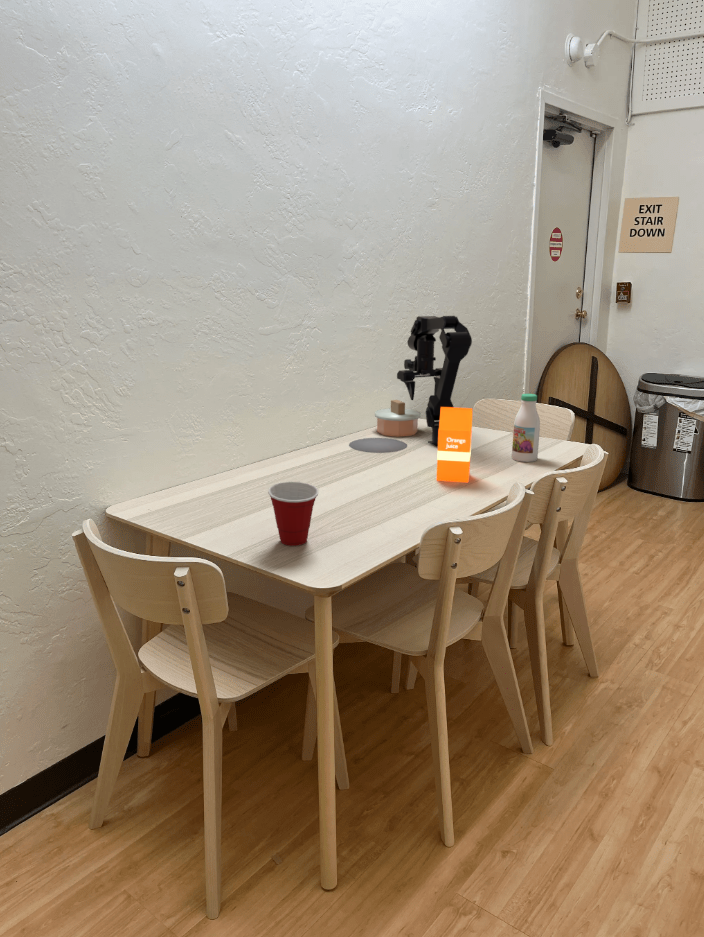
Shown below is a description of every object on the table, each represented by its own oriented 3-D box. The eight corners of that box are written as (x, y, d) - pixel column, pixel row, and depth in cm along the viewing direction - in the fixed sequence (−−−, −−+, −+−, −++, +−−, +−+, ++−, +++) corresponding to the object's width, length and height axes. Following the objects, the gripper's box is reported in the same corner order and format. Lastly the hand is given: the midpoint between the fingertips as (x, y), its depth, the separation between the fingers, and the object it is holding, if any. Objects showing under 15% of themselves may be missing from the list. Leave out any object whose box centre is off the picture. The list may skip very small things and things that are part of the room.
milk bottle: (521, 454, 223) (526, 391, 218) (542, 459, 218) (548, 395, 212) (506, 458, 219) (510, 394, 213) (527, 464, 213) (532, 398, 207)
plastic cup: (285, 555, 148) (284, 500, 144) (260, 539, 156) (258, 487, 153) (329, 543, 154) (328, 490, 150) (302, 528, 162) (301, 478, 159)
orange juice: (468, 482, 195) (472, 411, 190) (436, 480, 197) (438, 409, 191) (469, 474, 203) (473, 405, 197) (438, 472, 204) (441, 404, 199)
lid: (428, 418, 244) (429, 404, 243) (386, 422, 238) (387, 407, 237) (407, 409, 258) (407, 395, 257) (367, 412, 252) (367, 399, 251)
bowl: (422, 434, 247) (423, 418, 245) (388, 438, 242) (388, 421, 240) (405, 426, 258) (405, 410, 256) (372, 430, 253) (372, 413, 251)
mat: (417, 450, 227) (417, 449, 227) (363, 456, 220) (363, 455, 220) (391, 436, 244) (391, 435, 244) (340, 441, 237) (340, 440, 237)
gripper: (437, 349, 252) (436, 393, 257) (390, 352, 245) (389, 396, 249) (454, 353, 242) (451, 398, 247) (405, 356, 235) (403, 402, 240)
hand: (423, 399), depth 246 cm, fingers open, 9 cm apart
